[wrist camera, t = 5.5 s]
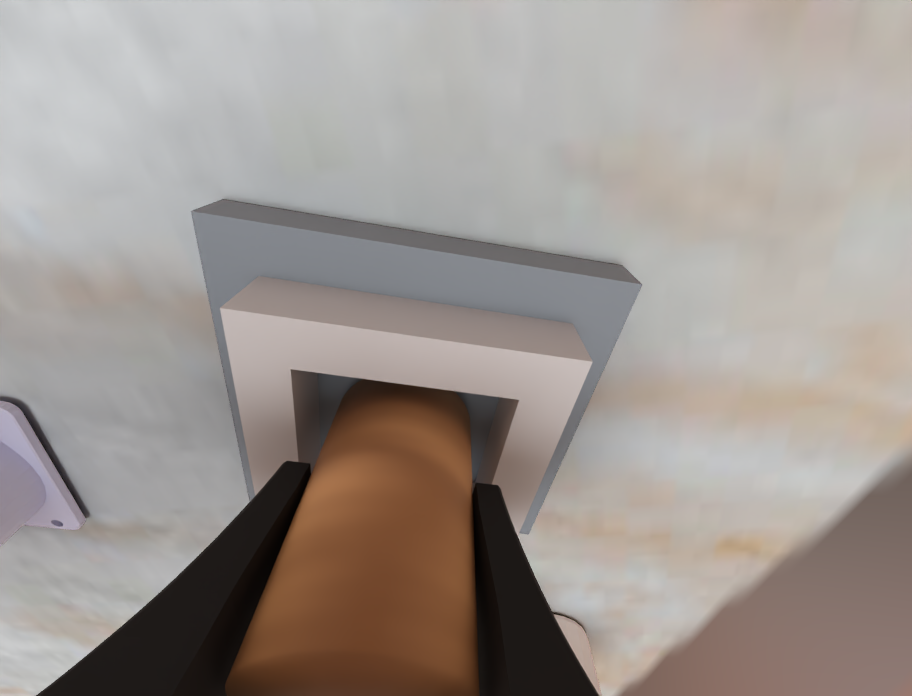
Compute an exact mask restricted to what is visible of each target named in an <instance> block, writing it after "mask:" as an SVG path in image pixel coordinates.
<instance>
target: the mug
mask: <svg viewBox="0 0 912 696" xmlns="http://www.w3.org/2000/svg"><path fill="white" fill-rule="evenodd" d="M553 615H554V617H555V619H556V620H557V622H558V624H559V626H560V628H561V630H562V632H563V634H564V636H565V637H566V639H567V641H568V643H569V645H570V646H571V648H572V650H573V652H574V653H575V655H576V657H577V659H578V661H579V662H580V664H581V666H582V667H583V669H584V671H585V672H586V674H587V676H588V678H589V679H590V681H591V683H592V684H593V686H594V688H595V689H596V691H597V693H598V694H599V696H602V694H601V690H600V686H599V682H598V678H597V673H596V669H595V665H594V661H593V657H592V653H591V649H590V645H589V640H588V637H587V635H586V633H585V631H584V630H583V628H582V626H580V625H579V624H578V623H576V622H575V621H573V620H571V619H569V618H566V617H564V616H560V615H555V614H553Z"/></svg>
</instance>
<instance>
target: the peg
mask: <svg viewBox="0 0 912 696" xmlns="http://www.w3.org/2000/svg"><path fill="white" fill-rule="evenodd" d="M225 692H226V694H227V696H479V667H478V638H477V608H476V578H475V548H474V519H473V489H472V459H471V430H470V417H469V413H468V410H467V408H466V406H465V404H464V402H463V401H462V399H461V398H460V397H459V396H458V395H457V393H456V392H454V391H450V390H442V389H435V388H427V387H420V386H413V385H405V384H398V383H390V382H383V381H375V380H368V379H362V380H361V381H359V382H358V383H356V384H355V385H354V386H352V387H351V388H350V389H349V390H348V391H347V392H346V394H345V395H344V397H343V398H342V400H341V403H340V405H339V407H338V410H337V412H336V415H335V417H334V420H333V422H332V425H331V427H330V429H329V432H328V434H327V437H326V439H325V442H324V444H323V446H322V449H321V451H320V454H319V456H318V459H317V461H316V464H315V466H314V468H313V471H312V473H311V476H310V478H309V481H308V483H307V486H306V488H305V490H304V493H303V495H302V498H301V500H300V503H299V505H298V508H297V510H296V512H295V515H294V517H293V520H292V522H291V525H290V527H289V530H288V532H287V534H286V537H285V539H284V542H283V544H282V547H281V549H280V552H279V554H278V556H277V559H276V561H275V564H274V566H273V569H272V571H271V574H270V576H269V578H268V581H267V583H266V586H265V588H264V591H263V593H262V596H261V598H260V600H259V603H258V605H257V608H256V610H255V613H254V615H253V618H252V620H251V622H250V625H249V627H248V630H247V632H246V635H245V637H244V640H243V642H242V644H241V647H240V649H239V652H238V654H237V657H236V659H235V662H234V664H233V666H232V669H231V671H230V674H229V676H228V679H227V681H226V684H225Z"/></svg>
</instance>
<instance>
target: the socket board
mask: <svg viewBox="0 0 912 696" xmlns="http://www.w3.org/2000/svg"><path fill="white" fill-rule="evenodd" d="M191 213H192V218H193V223H194V228H195V233H196V238H197V243H198V248H199V253H200V258H201V263H202V268H203V273H204V278H205V283H206V288H207V293H208V297H209V302H210V307H211V312H212V317H213V322H214V327H215V332H216V337H217V342H218V347H219V352H220V357H221V362H222V367H223V372H224V377H225V382H226V386H227V391H228V396H229V401H230V406H231V411H232V416H233V421H234V426H235V431H236V436H237V441H238V446H239V451H240V456H241V461H242V466H243V470H244V475H245V480H246V485H247V490H248V495H249V500H250V501H251V500H252V499H253V498H254V497H255V496H256V495H257V493H258V492H259V491H260V490H261V489H262V488H263V487H264V485H265V484H266V483H267V482H268V481H269V479H270V478H271V477H272V476H273V475H274V473H275V472H276V471H277V470H278V469H279V467H280V466H281V465H282V464H283V463H284V462H286V461H294V462H303V463H310V466H311V473H312V471H313V468H314V466H315V464H316V461H317V459H318V456H319V454H320V451H321V449H322V446H323V444H324V442H325V439H326V437H327V434H328V432H329V429H330V427H331V425H332V422H333V420H334V417H335V415H336V412H337V410H338V407H339V405H340V403H341V400H342V398H343V397H344V395H345V394H346V392H347V391H348V390H349V389H350V388H351V387H352V386H354V385H355V384H356V383H358V382H359V381H361V380H362V379H368V380H375V381H383V382H390V383H398V384H405V385H413V386H420V387H427V388H435V389H442V390H450V391H454V392H456V393H457V395H458V396H459V397H460V398H461V399H462V401H463V402H464V404H465V406H466V408H467V410H468V413H469V417H470V430H471V459H472V489H473V491H474V487H475V484H476V483H484V484H493V485H498V486H499V487H500V488H501V491H502V495H503V498H504V501H505V504H506V507H507V510H508V512H509V515H510V518H511V521H512V523H513V526H514V528H515V531H516V533H517V536H518V535H519V533H521V534H529V533H530V530H531V528H532V526H533V524H534V522H535V519H536V517H537V515H538V513H539V511H540V508H541V506H542V504H543V502H544V500H545V497H546V495H547V493H548V491H549V489H550V486H551V484H552V482H553V480H554V478H555V475H556V473H557V471H558V469H559V467H560V464H561V462H562V460H563V458H564V456H565V453H566V451H567V449H568V447H569V445H570V442H571V440H572V438H573V436H574V434H575V431H576V429H577V427H578V425H579V423H580V420H581V418H582V416H583V414H584V412H585V409H586V407H587V405H588V403H589V401H590V398H591V396H592V394H593V392H594V390H595V387H596V385H597V383H598V381H599V379H600V376H601V374H602V372H603V370H604V368H605V365H606V363H607V361H608V359H609V357H610V354H611V352H612V350H613V348H614V346H615V343H616V341H617V339H618V337H619V335H620V332H621V330H622V328H623V326H624V324H625V321H626V319H627V317H628V315H629V313H630V310H631V308H632V306H633V304H634V302H635V299H636V297H637V295H638V293H639V291H640V288H641V286H642V284H641V283H640V282H639V281H638V280H637V279H636V278H635V277H634V276H633V275H632V274H631V273H630V272H629V271H628V270H627V269H626V268H624V267H623V266H621V265H615V264H609V263H603V262H597V261H591V260H585V259H579V258H573V257H567V256H561V255H555V254H549V253H543V252H537V251H531V250H525V249H519V248H513V247H507V246H501V245H495V244H489V243H483V242H477V241H471V240H465V239H459V238H453V237H447V236H441V235H435V234H428V233H422V232H416V231H410V230H404V229H398V228H392V227H386V226H380V225H374V224H368V223H362V222H356V221H350V220H344V219H338V218H332V217H326V216H320V215H314V214H308V213H302V212H296V211H290V210H284V209H278V208H272V207H266V206H260V205H254V204H248V203H242V202H236V201H230V200H224V199H222V200H220V201H217V202H214V203H212V204H209V205H206V206H203V207H201V208H198V209H195V210H193V211H191Z"/></svg>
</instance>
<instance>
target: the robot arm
mask: <svg viewBox="0 0 912 696" xmlns="http://www.w3.org/2000/svg"><path fill="white" fill-rule="evenodd" d="M310 476H311V466H310V463H303V462H294V461H286V462H284V463H283V464H282V465H281V466H280V467H279V469H278V470H277V471H276V472H275V473H274V475H273V476H272V477H271V478H270V479H269V481H268V482H267V483H266V484H265V485H264V487H263V488H262V489H261V490H260V491H259V492H258V493H257V495H256V496H255V497H254V498H253V499H252V500H251V501H250V502H249V503H248V505H247V506H246V507H245V508H244V509H243V510H242V511H241V512H240V513H239V514H238V515H237V517H236V518H235V519H234V520H233V521H232V522H231V523H230V524H229V525H228V526H227V527H226V528H225V529H224V530H223V531H222V532H221V534H220V535H219V536H218V537H217V538H216V539H215V540H214V541H213V542H212V543H211V544H210V545H209V546H208V547H207V548H206V549H205V550H204V551H203V552H202V553H201V554H200V555H199V556H198V557H197V558H196V559H195V560H194V561H193V562H192V563H191V564H189V565H188V566H187V567H186V568H185V569H184V570H183V571H182V572H181V573H180V574H179V575H178V576H177V577H176V578H175V579H174V580H173V581H172V582H171V583H170V584H169V585H168V586H166V587H165V588H164V589H163V590H162V591H161V592H160V593H159V594H158V595H157V596H156V597H154V598H153V599H152V600H151V601H150V602H149V603H148V604H147V605H146V606H144V607H143V608H142V609H141V610H140V611H139V612H138V613H136V614H135V615H134V616H133V617H132V618H131V619H130V620H128V621H127V622H126V623H125V624H124V625H123V626H122V627H120V628H119V629H118V630H117V631H116V632H114V633H113V634H112V635H111V636H110V637H108V638H107V639H106V640H105V641H104V642H102V643H101V644H100V645H99V646H98V647H96V648H95V649H94V650H93V651H92V652H90V653H89V654H88V655H87V656H86V657H84V658H83V659H82V660H81V661H79V662H78V663H77V664H76V665H75V666H73V667H72V668H71V669H70V670H68V671H67V672H66V673H65V674H63V675H62V676H61V677H60V678H58V679H57V680H56V681H55V682H53V683H52V684H51V685H49V686H48V687H47V688H45V689H44V690H43V691H42V692H40V693H39V694H38V695H36V696H227V694H226V692H225V684H226V681H227V679H228V676H229V674H230V671H231V669H232V666H233V664H234V662H235V659H236V657H237V654H238V652H239V649H240V647H241V644H242V642H243V640H244V637H245V635H246V632H247V630H248V627H249V625H250V622H251V620H252V618H253V615H254V613H255V610H256V608H257V605H258V603H259V600H260V598H261V596H262V593H263V591H264V588H265V586H266V583H267V581H268V578H269V576H270V574H271V571H272V569H273V566H274V564H275V561H276V559H277V556H278V554H279V552H280V549H281V547H282V544H283V542H284V539H285V537H286V534H287V532H288V530H289V527H290V525H291V522H292V520H293V517H294V515H295V512H296V510H297V508H298V505H299V503H300V500H301V498H302V495H303V493H304V490H305V488H306V486H307V483H308V481H309V478H310ZM473 519H474V548H475V578H476V608H477V638H478V667H479V696H599V694H598V693H597V691H596V689H595V688H594V686H593V684H592V683H591V681H590V679H589V678H588V676H587V674H586V672H585V671H584V669H583V667H582V666H581V664H580V662H579V661H578V659H577V657H576V655H575V653H574V652H573V650H572V648H571V646H570V645H569V643H568V641H567V639H566V637H565V636H564V634H563V632H562V630H561V628H560V626H559V624H558V622H557V620H556V619H555V617H554V615H553V613H552V611H551V609H550V607H549V605H548V603H547V601H546V599H545V597H544V595H543V593H542V591H541V588H540V586H539V584H538V582H537V580H536V578H535V576H534V573H533V571H532V569H531V567H530V564H529V562H528V560H527V557H526V555H525V553H524V551H523V548H522V546H521V543H520V541H519V539H518V536H517V533H516V531H515V528H514V526H513V523H512V521H511V518H510V515H509V512H508V510H507V507H506V504H505V501H504V498H503V495H502V491H501V488H500V487H499V486H498V485H493V484H484V483H476V484H475V487H474V491H473ZM85 522H86V520H85V517H84V515H83V513H82V512H81V510H80V508H79V507H78V505H77V503H76V502H75V500H74V498H73V497H72V495H71V493H70V491H69V490H68V488H67V486H66V485H65V483H64V481H63V480H62V478H61V476H60V475H59V473H58V471H57V470H56V468H55V466H54V464H53V463H52V461H51V459H50V458H49V456H48V454H47V453H46V451H45V449H44V448H43V446H42V444H41V443H40V441H39V439H38V437H37V436H36V434H35V432H34V431H33V429H32V427H31V426H30V424H29V422H28V421H27V419H26V417H25V415H24V414H23V412H22V411H21V410H20V408H18V407H17V406H16V405H14V404H12V403H9V402H5V401H0V546H1V545H3V544H4V543H5V542H6V541H7V540H8V539H9V538H10V537H11V536H12V535H13V534H14V533H15V532H16V531H17V530H18V529H19V528H20V527H22V526H23V525H28V526H38V527H48V528H58V529H68V530H76V529H79V528H80V527H81V526H82V525H83V524H84V523H85Z"/></svg>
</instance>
